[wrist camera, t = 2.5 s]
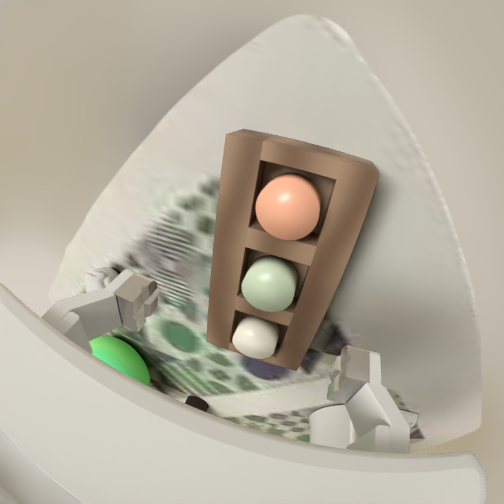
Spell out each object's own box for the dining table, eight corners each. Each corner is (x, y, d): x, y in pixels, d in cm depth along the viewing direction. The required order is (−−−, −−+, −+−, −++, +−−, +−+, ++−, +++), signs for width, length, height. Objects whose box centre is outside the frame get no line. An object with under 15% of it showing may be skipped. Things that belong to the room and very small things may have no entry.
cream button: (283, 322, 29) (279, 338, 27) (274, 347, 32) (269, 363, 30) (242, 309, 30) (234, 324, 28) (237, 335, 33) (230, 350, 31)
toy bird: (163, 386, 56) (134, 434, 44) (106, 354, 58) (75, 395, 46) (159, 344, 46) (117, 405, 34) (91, 307, 48) (47, 354, 36)
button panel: (372, 161, 22) (379, 173, 18) (302, 344, 35) (296, 370, 32) (243, 129, 24) (226, 134, 20) (219, 318, 37) (206, 341, 34)
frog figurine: (123, 298, 42) (99, 324, 36) (96, 266, 40) (69, 290, 35) (139, 285, 39) (112, 314, 33) (109, 250, 37) (79, 276, 32)
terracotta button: (327, 181, 20) (326, 190, 18) (312, 233, 23) (309, 247, 21) (269, 166, 21) (261, 173, 19) (259, 218, 24) (251, 230, 22)
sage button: (303, 263, 25) (299, 279, 23) (291, 301, 27) (286, 317, 25) (253, 248, 26) (245, 263, 24) (246, 287, 28) (238, 302, 26)
